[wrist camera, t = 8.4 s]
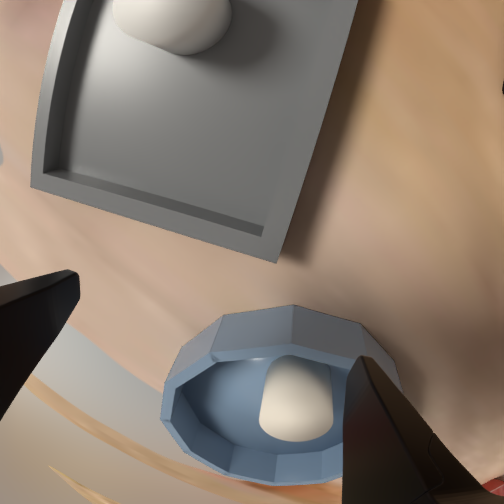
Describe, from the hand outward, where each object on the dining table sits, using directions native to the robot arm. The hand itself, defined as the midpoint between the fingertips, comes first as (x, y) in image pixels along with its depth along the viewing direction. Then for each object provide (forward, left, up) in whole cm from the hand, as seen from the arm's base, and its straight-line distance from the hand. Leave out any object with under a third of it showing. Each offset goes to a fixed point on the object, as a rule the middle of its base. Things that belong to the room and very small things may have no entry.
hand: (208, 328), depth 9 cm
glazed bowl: (-6, +14, -11) cm, 19 cm away
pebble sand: (-6, +10, -10) cm, 16 cm away
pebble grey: (+7, -11, -10) cm, 16 cm away
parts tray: (+7, -7, -11) cm, 15 cm away
